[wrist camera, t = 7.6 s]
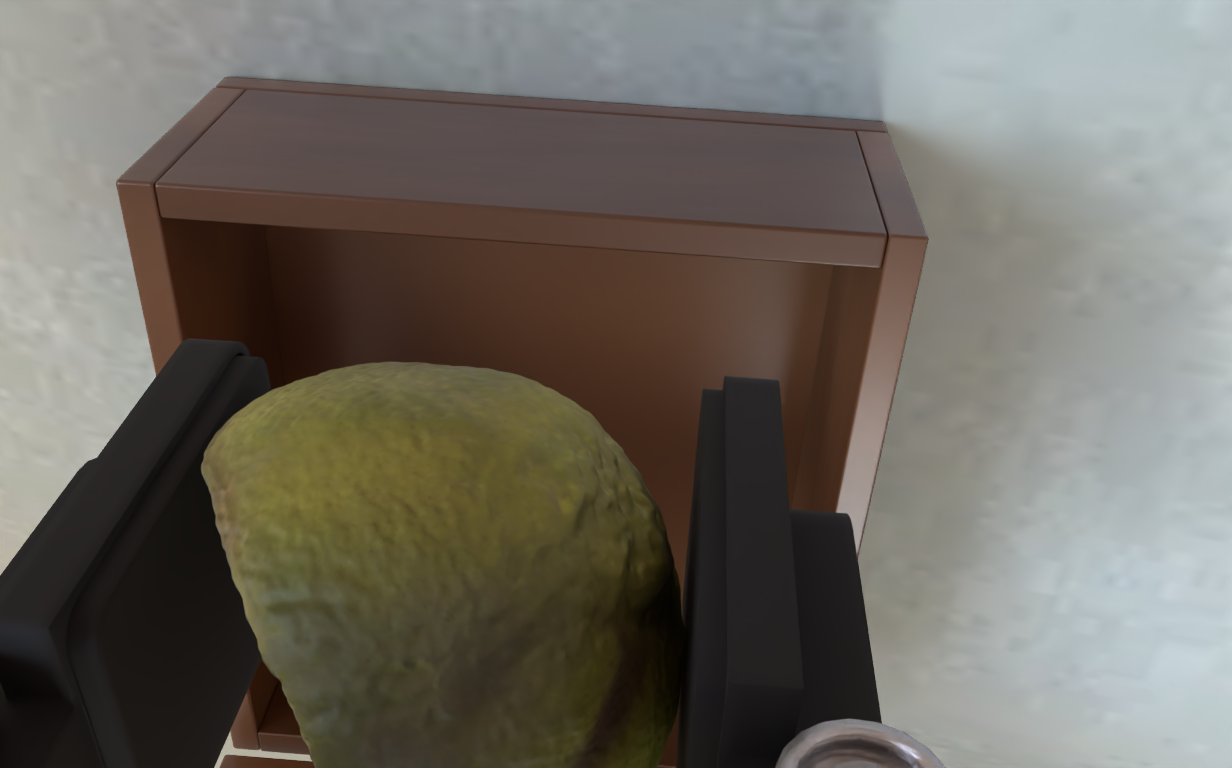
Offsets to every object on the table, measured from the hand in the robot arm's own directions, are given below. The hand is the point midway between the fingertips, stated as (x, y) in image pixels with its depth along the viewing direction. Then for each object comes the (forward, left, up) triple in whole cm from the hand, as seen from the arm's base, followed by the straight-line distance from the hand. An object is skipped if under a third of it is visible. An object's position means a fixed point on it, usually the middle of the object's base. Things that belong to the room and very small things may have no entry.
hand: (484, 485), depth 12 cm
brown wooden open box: (+9, -1, -15) cm, 17 cm away
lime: (0, 0, -1) cm, 1 cm away
